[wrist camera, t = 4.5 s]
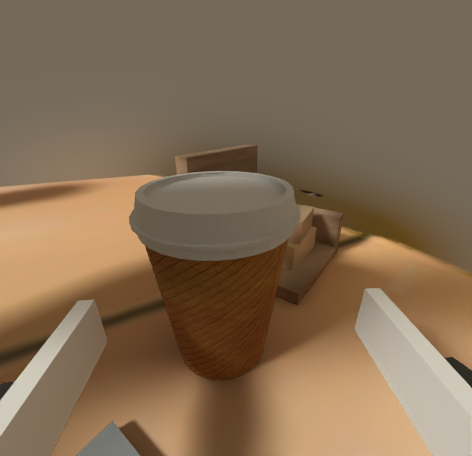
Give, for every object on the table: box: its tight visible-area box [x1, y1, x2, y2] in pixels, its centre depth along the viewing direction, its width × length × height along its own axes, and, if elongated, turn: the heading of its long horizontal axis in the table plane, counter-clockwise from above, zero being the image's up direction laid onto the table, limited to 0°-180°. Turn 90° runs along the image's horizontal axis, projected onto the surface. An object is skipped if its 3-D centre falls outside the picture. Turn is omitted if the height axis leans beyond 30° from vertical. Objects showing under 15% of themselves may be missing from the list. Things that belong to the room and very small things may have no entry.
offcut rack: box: [175, 145, 344, 305], centre depth 28 cm, size 14×13×12 cm
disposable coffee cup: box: [129, 171, 301, 380], centre depth 16 cm, size 10×10×12 cm
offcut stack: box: [282, 204, 316, 271], centre depth 28 cm, size 8×6×5 cm
